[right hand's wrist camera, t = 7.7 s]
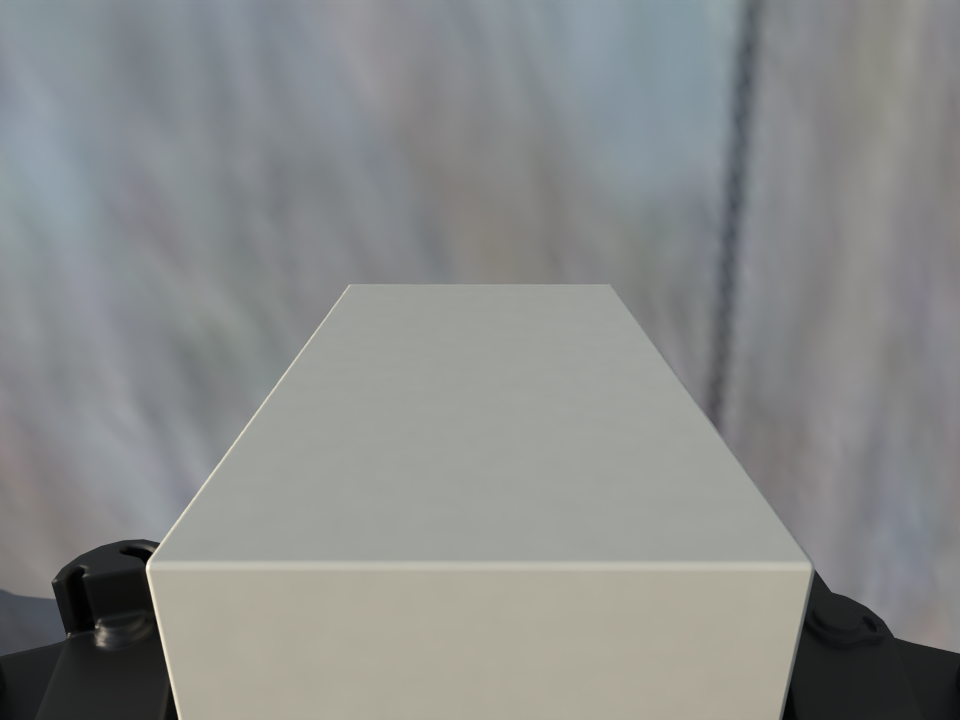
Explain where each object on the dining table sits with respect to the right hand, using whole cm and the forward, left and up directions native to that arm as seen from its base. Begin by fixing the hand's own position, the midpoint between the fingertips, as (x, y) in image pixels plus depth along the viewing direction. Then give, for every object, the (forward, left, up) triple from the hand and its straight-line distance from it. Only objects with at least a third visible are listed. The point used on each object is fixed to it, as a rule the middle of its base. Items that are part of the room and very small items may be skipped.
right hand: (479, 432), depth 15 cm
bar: (+5, +8, -1) cm, 10 cm away
